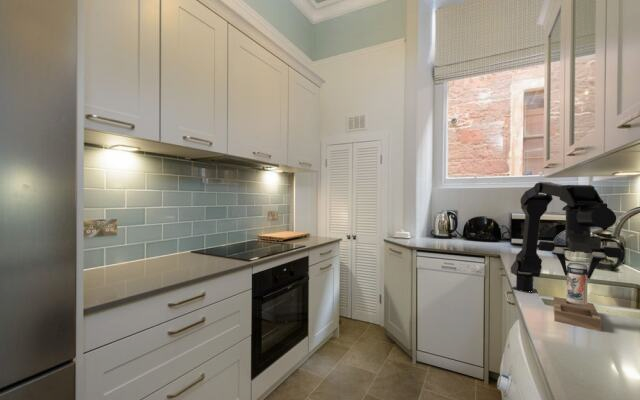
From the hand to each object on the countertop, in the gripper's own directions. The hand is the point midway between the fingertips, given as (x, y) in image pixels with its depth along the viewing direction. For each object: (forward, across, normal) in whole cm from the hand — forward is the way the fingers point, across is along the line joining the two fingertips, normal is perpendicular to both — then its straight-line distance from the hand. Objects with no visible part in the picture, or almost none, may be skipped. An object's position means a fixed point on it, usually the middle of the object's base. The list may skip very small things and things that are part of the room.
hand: (577, 277), depth 86 cm
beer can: (+8, 0, 0) cm, 8 cm away
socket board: (+13, 0, +4) cm, 14 cm away
